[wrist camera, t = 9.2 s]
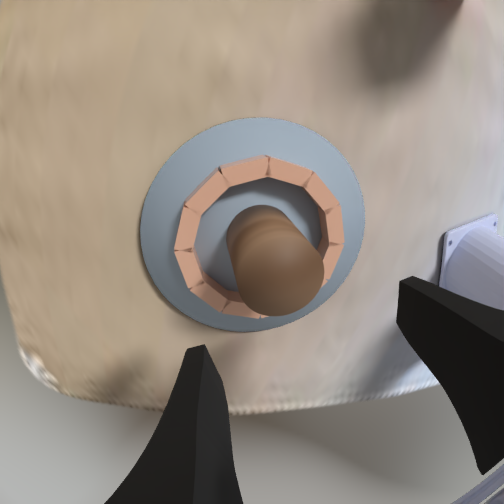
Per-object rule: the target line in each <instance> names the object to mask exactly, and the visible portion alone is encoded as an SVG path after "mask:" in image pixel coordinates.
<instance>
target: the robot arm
mask: <svg viewBox="0 0 504 504" xmlns="http://www.w3.org/2000/svg"><path fill="white" fill-rule="evenodd" d="M497 222H498V215H497V214H495V213H493V214H491V215H488V216H486V217H483V218H481V219H478V220H476V221H473V222H471V223H468V224H465V225H463V226H460V227H458V228H455V229H452V230H450V231H448V232H446V234H445V236H444V247H443V257H442V266H441V274H440V282H439V286H437V285H434V284H432V283H430V282H427V281H425V280H422V279H419V278H417V277H414V276H411V277H409V278H406V279H404V280H401V281H399V297H398V309H397V320H396V323H397V325H398V326H399V328H400V330H401V331H402V333H403V335H404V336H405V338H406V340H407V341H408V343H409V344H410V345H411V347H412V348H413V349H414V351H415V352H416V353H417V354H418V356H419V357H420V358H421V359H422V361H423V362H424V363H425V364H426V366H427V367H428V368H429V370H430V371H431V372H432V373H433V375H434V376H435V377H436V379H437V380H438V381H439V383H440V384H441V385H442V387H443V388H444V390H445V392H446V393H447V395H448V397H449V399H450V400H451V402H452V404H453V406H454V408H455V409H456V412H457V414H458V416H459V418H460V420H461V422H462V424H463V426H464V429H465V431H466V433H467V436H468V439H469V441H470V444H471V446H472V450H473V453H474V456H475V459H476V463H477V467H478V469H479V471H480V472H481V474H482V475H484V474H485V473H486V472H488V471H489V470H490V469H491V468H492V467H494V466H495V465H496V464H497V463H499V462H500V461H501V460H502V459H503V458H504V238H503V237H502V236H500V235H498V234H497V233H496V230H497ZM503 483H504V464H503V465H502V466H501V467H500V468H499V469H497V470H496V471H495V472H494V473H492V474H491V475H490V476H489V477H488V478H486V479H485V480H484V481H482V482H481V483H480V484H479V485H477V486H476V487H474V488H473V489H472V490H470V491H469V492H468V493H466V494H465V495H463V496H462V497H460V498H459V499H458V500H456V501H455V502H453V503H452V504H479V503H480V502H482V501H483V500H484V499H486V498H487V497H488V496H489V495H491V494H492V493H493V492H494V491H495V490H496V489H498V488H499V487H500V486H501V485H502V484H503ZM104 504H243V501H242V497H241V493H240V489H239V485H238V481H237V477H236V473H235V468H234V461H233V454H232V444H231V433H230V424H229V413H228V405H227V400H226V395H225V391H224V386H223V381H222V379H221V377H220V375H219V373H218V371H217V369H216V367H215V365H214V363H213V361H212V359H211V357H210V354H209V352H208V350H207V348H206V346H205V344H204V345H200V346H196V347H192V348H188V349H187V350H186V352H185V356H184V359H183V362H182V365H181V368H180V371H179V374H178V377H177V380H176V383H175V385H174V388H173V390H172V393H171V396H170V398H169V401H168V403H167V406H166V408H165V410H164V412H163V415H162V417H161V419H160V421H159V424H158V426H157V428H156V430H155V432H154V434H153V435H152V437H151V439H150V441H149V443H148V445H147V446H146V448H145V450H144V452H143V453H142V455H141V456H140V458H139V459H138V461H137V463H136V464H135V466H134V467H133V469H132V470H131V471H130V473H129V474H128V476H127V477H126V478H125V479H124V481H123V482H122V483H121V485H120V486H119V487H118V488H117V490H116V491H115V492H114V493H113V495H112V496H111V497H110V498H109V499H108V500H107V501H106V502H105V503H104ZM484 504H504V488H503V489H502V490H500V491H499V492H498V493H496V494H495V495H494V496H492V497H491V498H490V499H489V500H487V501H486V502H485V503H484Z"/></svg>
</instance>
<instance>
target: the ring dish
mask: <svg viewBox="0 0 504 504" xmlns="http://www.w3.org/2000/svg"><path fill="white" fill-rule="evenodd" d="M255 205H269V206H273V207H276V208H278V209H279V210H281V211H282V212H283V213H284V214H285V215H286V216H287V217H288V218H289V219H290V220H291V221H292V223H293V224H294V225H295V226H296V227H297V228H298V229H299V231H300V232H301V233H302V234H303V235H304V236H305V237H306V239H307V240H308V241H309V242H310V243H311V244H312V246H313V247H314V248H315V249H316V250H317V252H318V253H319V254H320V256H321V258H322V261H323V264H324V279H323V283H322V286H321V288H320V290H319V292H318V293H317V295H316V296H315V297H314V298H313V300H312V301H311V302H310V303H309V304H307V305H306V306H305V307H303V308H302V309H300V310H298V311H296V312H294V313H291V314H288V315H284V316H265V315H261V314H258V313H256V312H254V311H253V310H251V309H250V308H249V307H248V306H246V304H245V303H244V302H243V300H242V299H241V297H240V294H239V291H238V287H237V283H236V279H235V275H234V271H233V267H232V263H231V259H230V255H229V251H228V247H227V243H226V235H227V230H228V227H229V225H230V223H231V221H232V220H233V219H234V217H235V216H236V215H237V214H238V213H240V212H241V211H243V210H244V209H246V208H248V207H251V206H255ZM364 226H365V208H364V201H363V196H362V192H361V189H360V185H359V182H358V180H357V178H356V176H355V174H354V171H353V170H352V168H351V166H350V165H349V163H348V162H347V160H346V159H345V158H344V156H343V155H342V154H341V153H340V152H339V151H338V150H337V148H336V147H334V146H333V145H332V144H331V143H330V142H329V141H327V140H326V139H325V138H324V137H322V136H320V135H319V134H317V133H316V132H314V131H312V130H310V129H308V128H306V127H304V126H301V125H299V124H296V123H293V122H289V121H285V120H281V119H273V118H244V119H238V120H232V121H228V122H225V123H222V124H219V125H216V126H213V127H211V128H209V129H207V130H205V131H203V132H201V133H199V134H197V135H196V136H194V137H193V138H191V139H190V140H189V141H187V142H186V143H184V144H183V145H182V146H181V147H180V148H179V149H178V150H177V151H176V152H174V153H173V154H172V155H171V157H170V158H169V159H168V160H167V162H166V163H165V164H164V165H163V166H162V168H161V169H160V171H159V172H158V174H157V176H156V177H155V179H154V181H153V182H152V184H151V187H150V189H149V192H148V194H147V196H146V199H145V203H144V207H143V211H142V216H141V226H140V235H141V247H142V252H143V257H144V260H145V263H146V266H147V269H148V272H149V273H150V275H151V277H152V279H153V281H154V283H155V285H156V286H157V287H158V289H159V290H160V292H161V293H162V294H163V295H164V296H165V297H166V299H167V300H168V301H169V302H170V303H171V304H172V305H174V306H175V307H176V308H177V309H178V310H180V311H181V312H182V313H184V314H186V315H187V316H189V317H190V318H192V319H194V320H196V321H198V322H201V323H203V324H205V325H208V326H211V327H215V328H218V329H224V330H229V331H240V332H247V331H261V330H268V329H272V328H276V327H280V326H283V325H285V324H288V323H291V322H293V321H295V320H298V319H300V318H302V317H304V316H305V315H307V314H309V313H310V312H312V311H313V310H315V309H316V308H318V307H319V306H320V305H321V304H323V303H324V302H325V301H326V300H327V299H328V298H329V297H331V296H332V295H333V294H334V293H335V291H336V290H337V289H338V288H339V287H340V285H341V284H342V283H343V282H344V280H345V279H346V277H347V276H348V274H349V273H350V271H351V269H352V267H353V265H354V263H355V261H356V259H357V256H358V253H359V251H360V248H361V244H362V240H363V235H364Z"/></svg>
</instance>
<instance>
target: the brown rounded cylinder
mask: <svg viewBox="0 0 504 504" xmlns="http://www.w3.org/2000/svg"><path fill="white" fill-rule="evenodd" d="M226 243H227V247H228V251H229V255H230V259H231V263H232V267H233V271H234V275H235V279H236V283H237V287H238V291H239V294H240V297H241V299H242V300H243V302H244V303H245V304H246V306H248V307H249V308H250V309H251V310H253V311H254V312H256V313H258V314H261V315H265V316H284V315H288V314H291V313H294V312H296V311H298V310H300V309H302V308H303V307H305V306H306V305H307V304H309V303H310V302H311V301H312V300H313V298H314V297H315V296H316V295H317V293H318V292H319V290H320V288H321V286H322V283H323V279H324V264H323V261H322V258H321V256H320V254H319V253H318V252H317V250H316V249H315V248H314V247H313V246H312V244H311V243H310V242H309V241H308V240H307V239H306V237H305V236H304V235H303V234H302V233H301V232H300V231H299V229H298V228H297V227H296V226H295V225H294V224H293V223H292V221H291V220H290V219H289V218H288V217H287V216H286V215H285V214H284V213H283V212H282V211H281V210H279V209H278V208H276V207H273V206H269V205H255V206H251V207H248V208H246V209H244V210H243V211H241V212H240V213H238V214H237V215H236V216H235V217H234V219H233V220H232V221H231V223H230V225H229V227H228V230H227V235H226Z"/></svg>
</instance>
